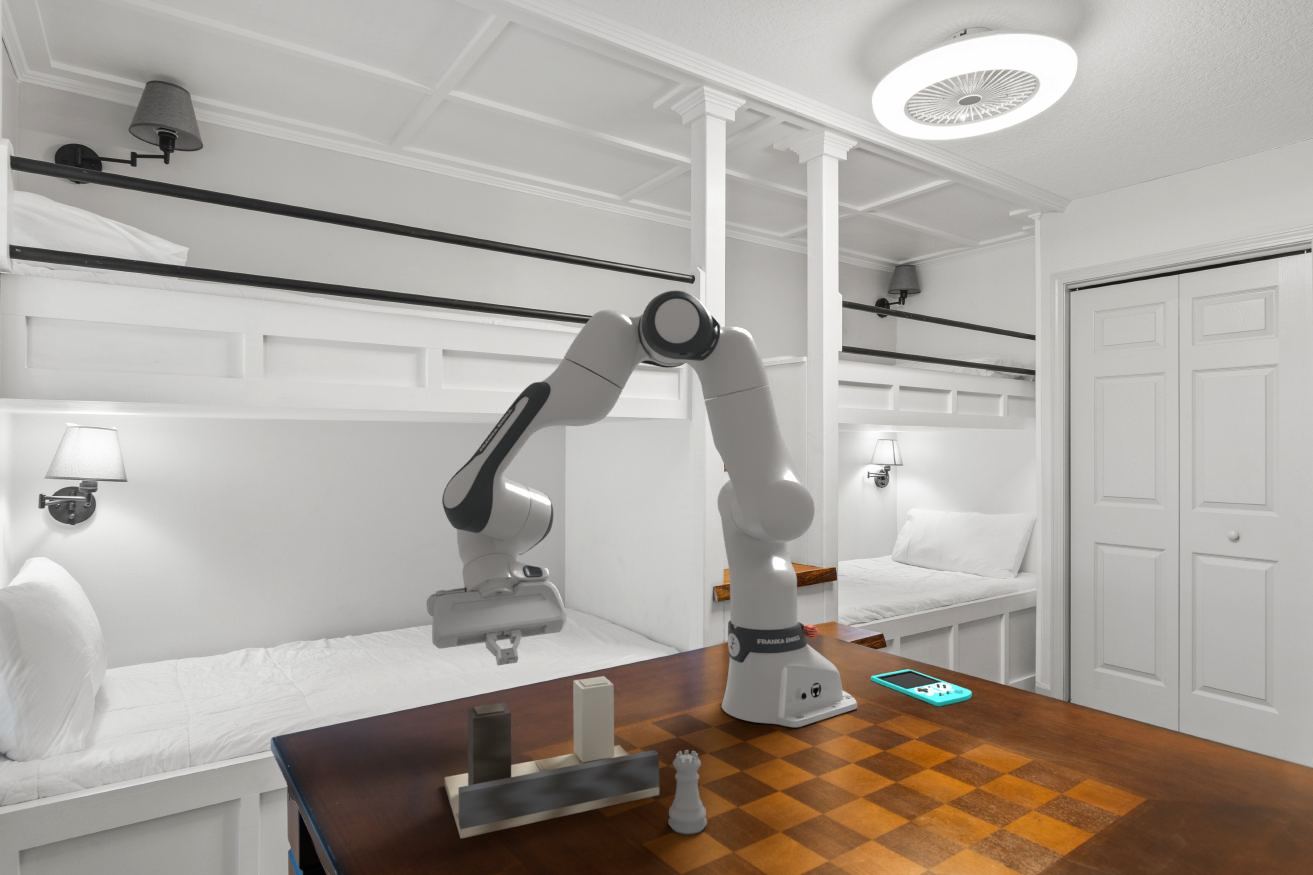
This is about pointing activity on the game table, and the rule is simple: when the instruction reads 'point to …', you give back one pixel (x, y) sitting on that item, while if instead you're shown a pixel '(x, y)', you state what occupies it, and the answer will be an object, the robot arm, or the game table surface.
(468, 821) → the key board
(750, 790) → the game table surface
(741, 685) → the robot arm
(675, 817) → the rook chess piece
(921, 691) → the handheld game console
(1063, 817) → the game table surface
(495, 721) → the ebony key
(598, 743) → the ivory key
